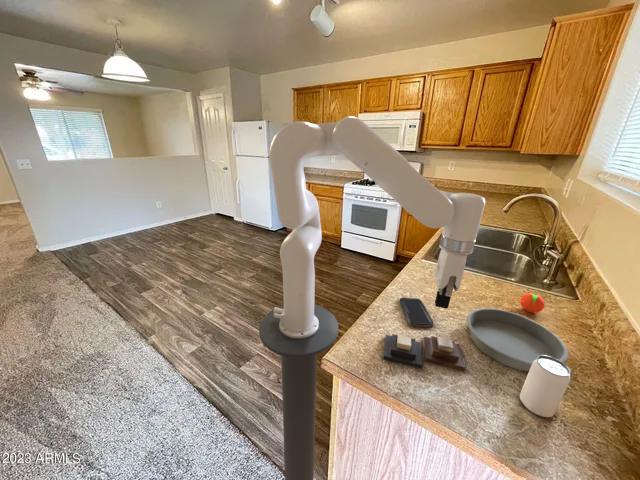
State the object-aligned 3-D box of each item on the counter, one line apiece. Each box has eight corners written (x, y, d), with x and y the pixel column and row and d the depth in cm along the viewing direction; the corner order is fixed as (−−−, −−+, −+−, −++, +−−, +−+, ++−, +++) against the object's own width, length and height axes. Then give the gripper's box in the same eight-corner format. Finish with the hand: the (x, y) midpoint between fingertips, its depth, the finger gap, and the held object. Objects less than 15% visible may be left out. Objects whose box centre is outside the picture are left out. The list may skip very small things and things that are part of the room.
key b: (437, 349, 73) (439, 344, 73) (436, 341, 76) (437, 336, 76) (452, 352, 72) (453, 347, 72) (450, 344, 75) (451, 339, 75)
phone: (420, 298, 100) (434, 324, 86) (419, 301, 100) (433, 327, 86) (399, 297, 100) (409, 322, 86) (398, 300, 100) (409, 325, 86)
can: (513, 391, 64) (528, 352, 60) (541, 394, 64) (558, 355, 60) (530, 416, 58) (548, 375, 54) (561, 420, 58) (581, 379, 54)
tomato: (541, 320, 91) (548, 303, 89) (517, 312, 95) (523, 295, 92) (541, 309, 97) (547, 293, 95) (518, 303, 101) (523, 286, 98)
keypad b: (424, 361, 73) (426, 352, 71) (423, 339, 81) (424, 331, 80) (464, 370, 70) (467, 362, 69) (458, 347, 78) (460, 339, 77)
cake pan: (582, 390, 65) (589, 376, 64) (472, 363, 72) (475, 350, 71) (540, 328, 87) (544, 316, 86) (458, 312, 94) (461, 301, 93)
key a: (396, 347, 73) (397, 342, 73) (397, 339, 77) (397, 334, 76) (410, 351, 72) (411, 345, 72) (410, 342, 76) (410, 337, 75)
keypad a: (383, 359, 73) (384, 350, 72) (385, 337, 81) (386, 329, 80) (421, 368, 70) (423, 360, 69) (419, 345, 78) (421, 337, 77)
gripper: (437, 232, 73) (425, 289, 80) (443, 252, 60) (428, 319, 66) (467, 236, 71) (451, 294, 78) (480, 257, 58) (460, 326, 64)
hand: (441, 305), depth 72 cm, fingers closed
